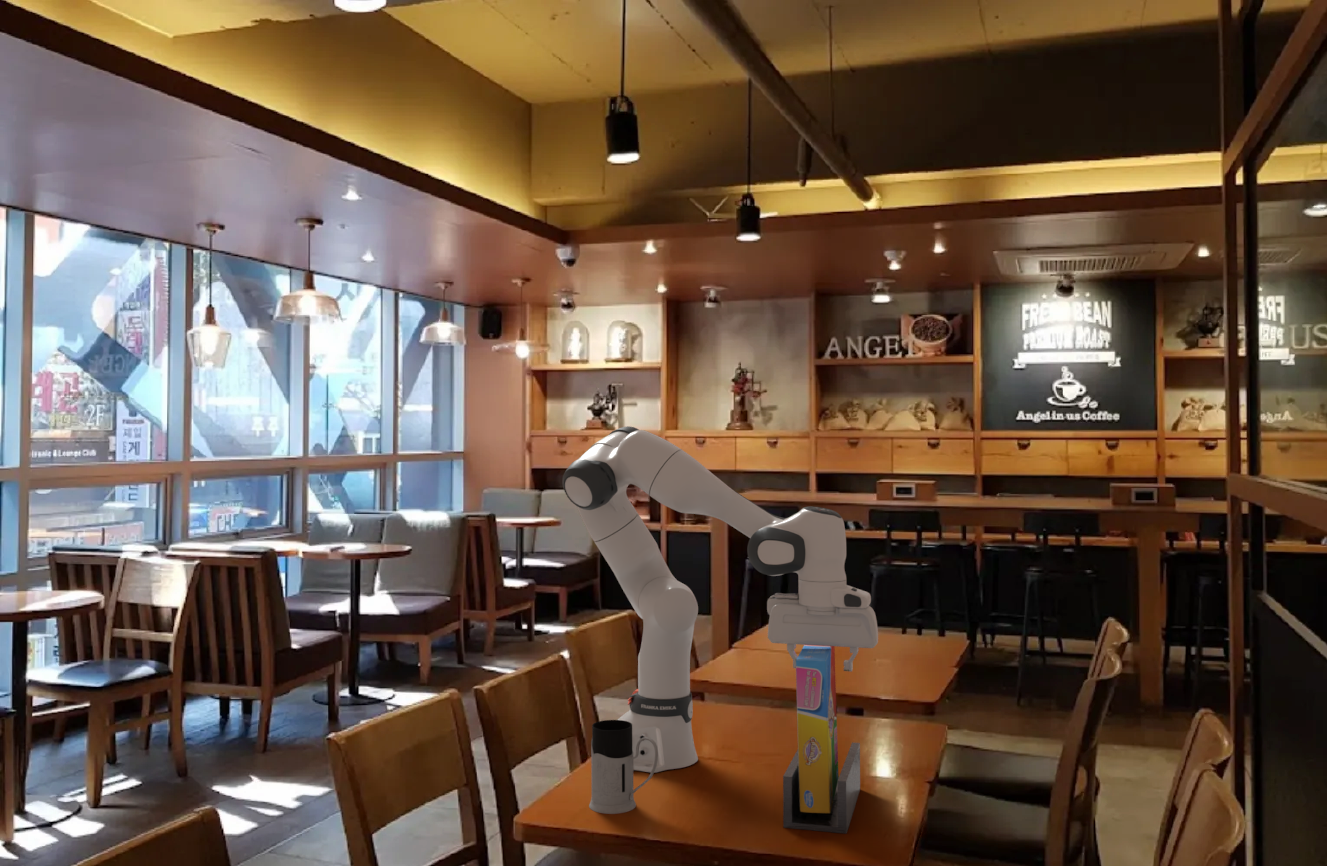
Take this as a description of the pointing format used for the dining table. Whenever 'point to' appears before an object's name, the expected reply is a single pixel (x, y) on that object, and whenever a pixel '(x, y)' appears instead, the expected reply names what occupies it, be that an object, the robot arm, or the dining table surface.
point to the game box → (816, 728)
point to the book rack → (841, 803)
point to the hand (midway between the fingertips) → (822, 669)
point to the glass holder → (614, 766)
